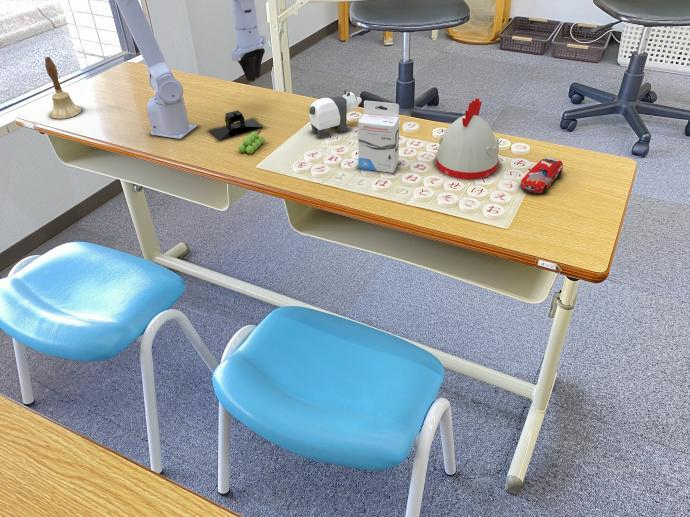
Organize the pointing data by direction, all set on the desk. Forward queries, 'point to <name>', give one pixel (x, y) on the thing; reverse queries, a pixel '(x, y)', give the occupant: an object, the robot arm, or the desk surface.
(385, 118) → the ink box
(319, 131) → the giant panda
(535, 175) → the race car
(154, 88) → the robot arm
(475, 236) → the desk surface
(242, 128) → the build plate
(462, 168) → the white and red dome
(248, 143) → the grapes
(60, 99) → the hand bell
